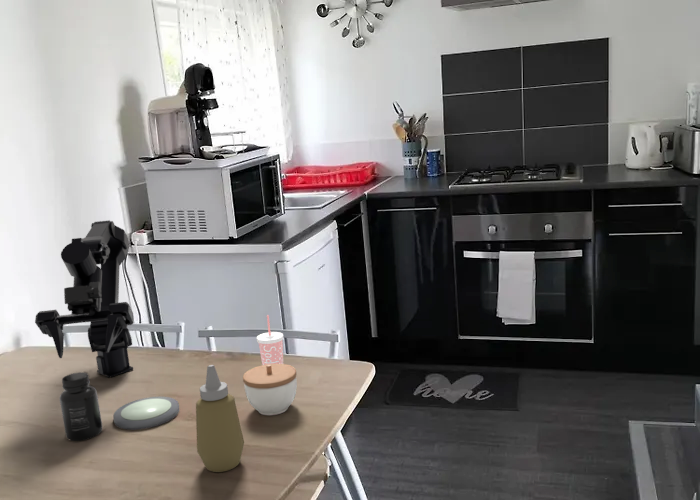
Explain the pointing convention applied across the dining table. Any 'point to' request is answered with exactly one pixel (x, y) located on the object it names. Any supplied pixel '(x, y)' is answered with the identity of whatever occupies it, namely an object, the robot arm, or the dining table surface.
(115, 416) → the plate
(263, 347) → the beverage cup
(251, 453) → the dining table surface
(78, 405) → the supplement bottle
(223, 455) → the squeeze bottle
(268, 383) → the lidded jar
